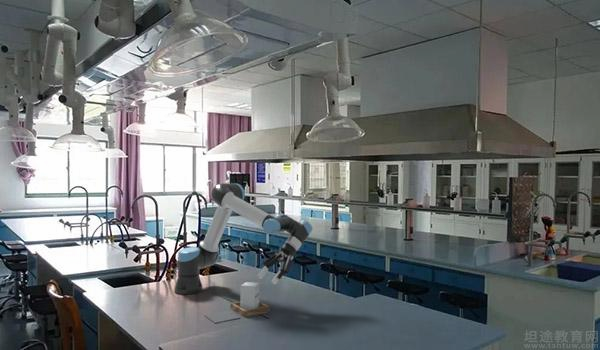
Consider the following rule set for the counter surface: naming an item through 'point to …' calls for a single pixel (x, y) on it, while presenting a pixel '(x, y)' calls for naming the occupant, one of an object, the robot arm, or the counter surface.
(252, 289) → the supplement box
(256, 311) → the crate
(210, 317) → the mat
